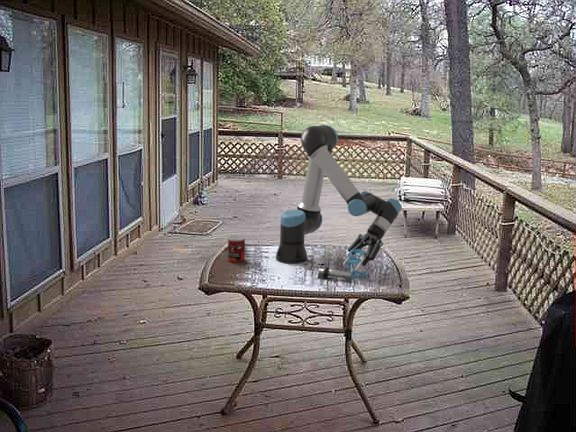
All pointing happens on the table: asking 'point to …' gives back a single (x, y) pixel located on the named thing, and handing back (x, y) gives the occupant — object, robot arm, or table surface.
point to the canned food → (236, 249)
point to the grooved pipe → (334, 274)
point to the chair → (356, 262)
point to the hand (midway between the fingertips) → (351, 268)
